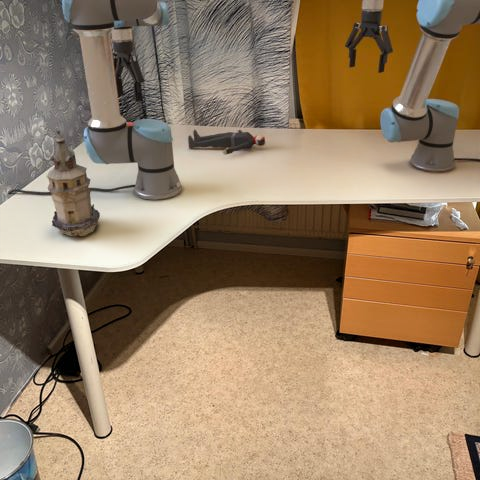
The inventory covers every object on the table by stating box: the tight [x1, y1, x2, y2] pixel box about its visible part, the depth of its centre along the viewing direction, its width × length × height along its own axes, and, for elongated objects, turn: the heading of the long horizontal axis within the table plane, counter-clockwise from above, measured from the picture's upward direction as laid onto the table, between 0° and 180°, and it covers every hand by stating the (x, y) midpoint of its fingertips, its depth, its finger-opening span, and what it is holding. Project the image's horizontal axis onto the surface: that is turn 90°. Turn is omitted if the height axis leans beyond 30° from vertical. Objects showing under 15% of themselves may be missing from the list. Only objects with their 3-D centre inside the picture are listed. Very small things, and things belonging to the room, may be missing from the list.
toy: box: [187, 129, 266, 156], centre depth 213 cm, size 26×6×30 cm
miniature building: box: [46, 129, 101, 237], centre depth 148 cm, size 13×14×30 cm
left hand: (129, 98), depth 210 cm, fingers open, 13 cm apart
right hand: (366, 69), depth 207 cm, fingers open, 13 cm apart
